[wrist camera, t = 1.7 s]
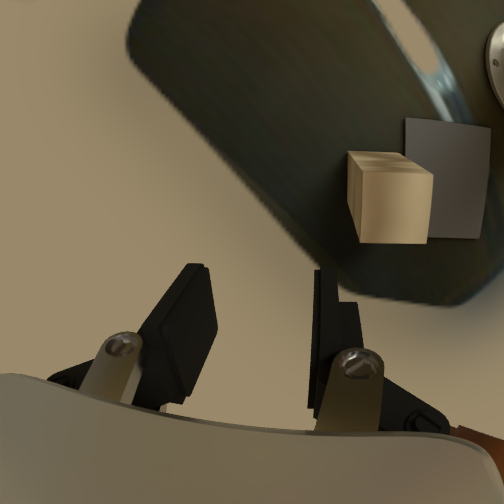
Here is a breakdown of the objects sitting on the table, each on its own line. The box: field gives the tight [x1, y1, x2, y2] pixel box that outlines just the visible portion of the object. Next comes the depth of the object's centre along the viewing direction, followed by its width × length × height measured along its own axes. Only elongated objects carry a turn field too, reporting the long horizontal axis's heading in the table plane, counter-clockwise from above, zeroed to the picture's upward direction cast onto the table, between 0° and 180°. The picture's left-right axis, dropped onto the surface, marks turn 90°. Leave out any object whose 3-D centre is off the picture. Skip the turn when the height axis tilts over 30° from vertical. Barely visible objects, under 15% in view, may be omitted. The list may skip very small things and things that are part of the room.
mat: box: [405, 117, 491, 239], centre depth 27 cm, size 10×12×1 cm
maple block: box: [347, 151, 433, 244], centre depth 25 cm, size 5×5×10 cm
